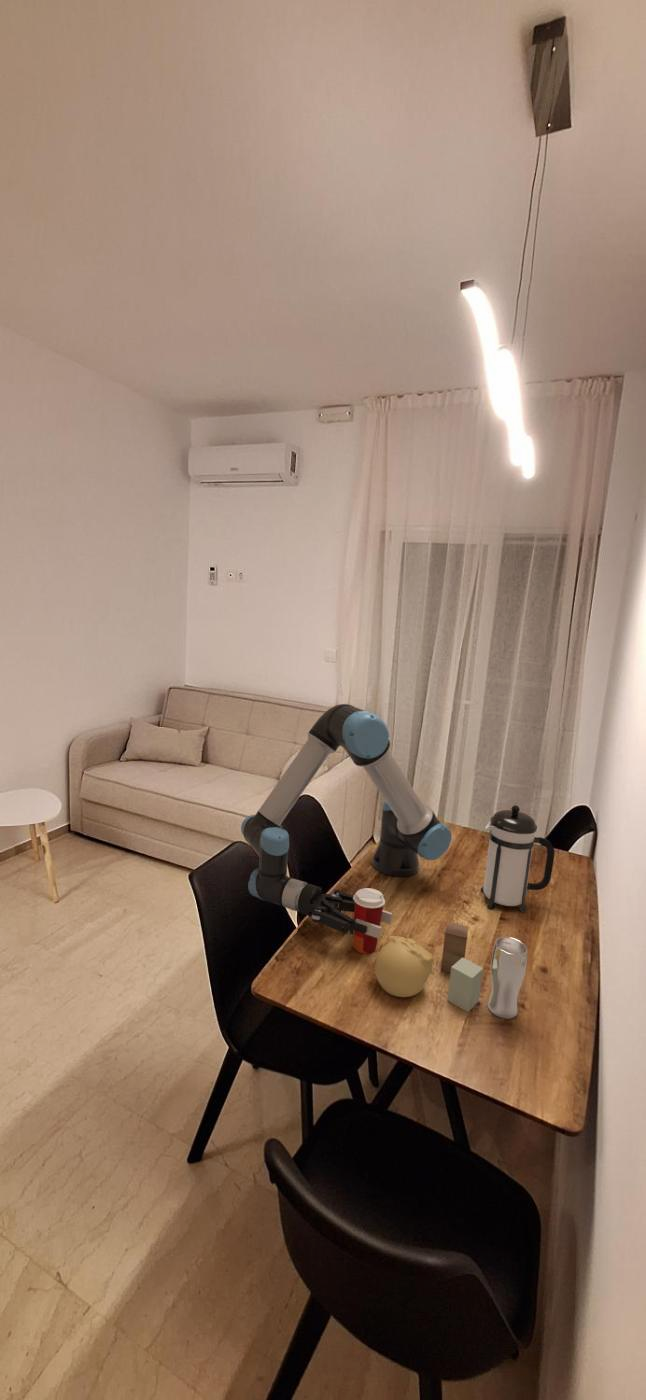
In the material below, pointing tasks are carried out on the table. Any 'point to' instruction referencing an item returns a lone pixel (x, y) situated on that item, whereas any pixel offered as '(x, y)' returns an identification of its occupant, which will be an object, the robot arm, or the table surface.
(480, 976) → the sage block
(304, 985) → the table surface
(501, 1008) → the beer glass
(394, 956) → the sculpture
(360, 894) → the paper cup
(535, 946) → the table surface
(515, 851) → the coffee press
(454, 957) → the walnut block
